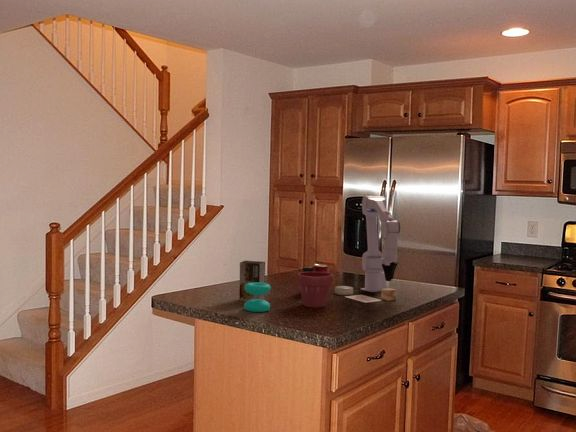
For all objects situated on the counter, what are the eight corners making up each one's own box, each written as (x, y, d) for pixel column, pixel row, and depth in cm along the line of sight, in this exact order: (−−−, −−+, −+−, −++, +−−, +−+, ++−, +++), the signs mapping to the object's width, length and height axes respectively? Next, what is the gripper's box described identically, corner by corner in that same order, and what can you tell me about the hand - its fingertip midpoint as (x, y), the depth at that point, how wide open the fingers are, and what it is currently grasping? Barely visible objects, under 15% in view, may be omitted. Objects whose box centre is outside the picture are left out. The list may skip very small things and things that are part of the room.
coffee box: (264, 300, 239) (265, 261, 239) (259, 303, 233) (260, 263, 233) (244, 298, 242) (245, 260, 242) (238, 300, 236) (239, 261, 235)
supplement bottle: (313, 292, 259) (314, 266, 258) (316, 295, 252) (317, 268, 251) (298, 292, 258) (299, 266, 257) (301, 295, 251) (302, 268, 250)
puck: (344, 291, 264) (345, 285, 264) (356, 294, 258) (356, 288, 257) (331, 293, 259) (331, 286, 259) (343, 296, 253) (343, 289, 253)
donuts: (248, 281, 226) (273, 282, 224) (247, 306, 227) (272, 308, 225) (241, 285, 216) (267, 287, 214) (241, 311, 217) (267, 313, 215)
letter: (361, 294, 257) (361, 294, 257) (383, 300, 245) (383, 300, 245) (344, 296, 251) (344, 296, 251) (365, 302, 240) (365, 302, 239)
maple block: (388, 298, 251) (388, 288, 251) (395, 300, 248) (396, 289, 247) (380, 299, 249) (381, 288, 248) (388, 301, 245) (388, 290, 245)
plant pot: (297, 301, 240) (298, 270, 239) (330, 302, 239) (331, 271, 238) (296, 308, 225) (297, 275, 225) (332, 309, 225) (333, 277, 224)
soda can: (326, 293, 258) (327, 266, 257) (310, 292, 260) (311, 265, 259) (328, 290, 265) (329, 264, 265) (313, 289, 267) (313, 263, 266)
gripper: (383, 246, 255) (382, 276, 256) (378, 249, 241) (376, 281, 242) (400, 247, 253) (398, 278, 254) (395, 250, 239) (393, 283, 240)
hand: (389, 280), depth 248 cm, fingers open, 4 cm apart
